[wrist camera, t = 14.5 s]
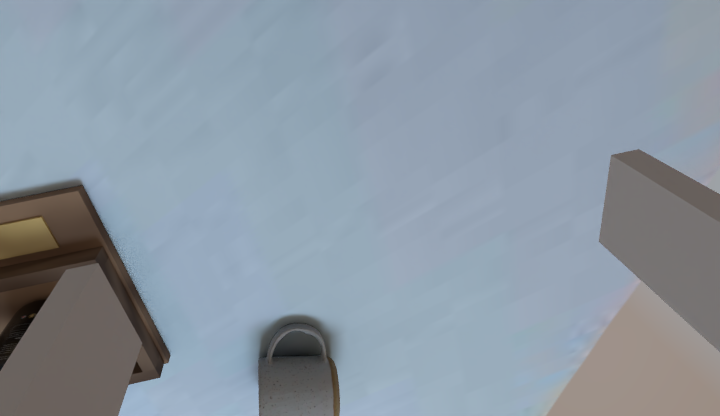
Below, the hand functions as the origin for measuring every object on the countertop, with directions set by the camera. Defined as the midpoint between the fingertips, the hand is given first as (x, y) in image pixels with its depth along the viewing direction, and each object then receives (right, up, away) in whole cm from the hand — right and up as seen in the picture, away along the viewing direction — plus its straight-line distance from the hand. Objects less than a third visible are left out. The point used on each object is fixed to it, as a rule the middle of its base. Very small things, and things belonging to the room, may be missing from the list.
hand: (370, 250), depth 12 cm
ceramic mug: (-8, -15, +39) cm, 42 cm away
